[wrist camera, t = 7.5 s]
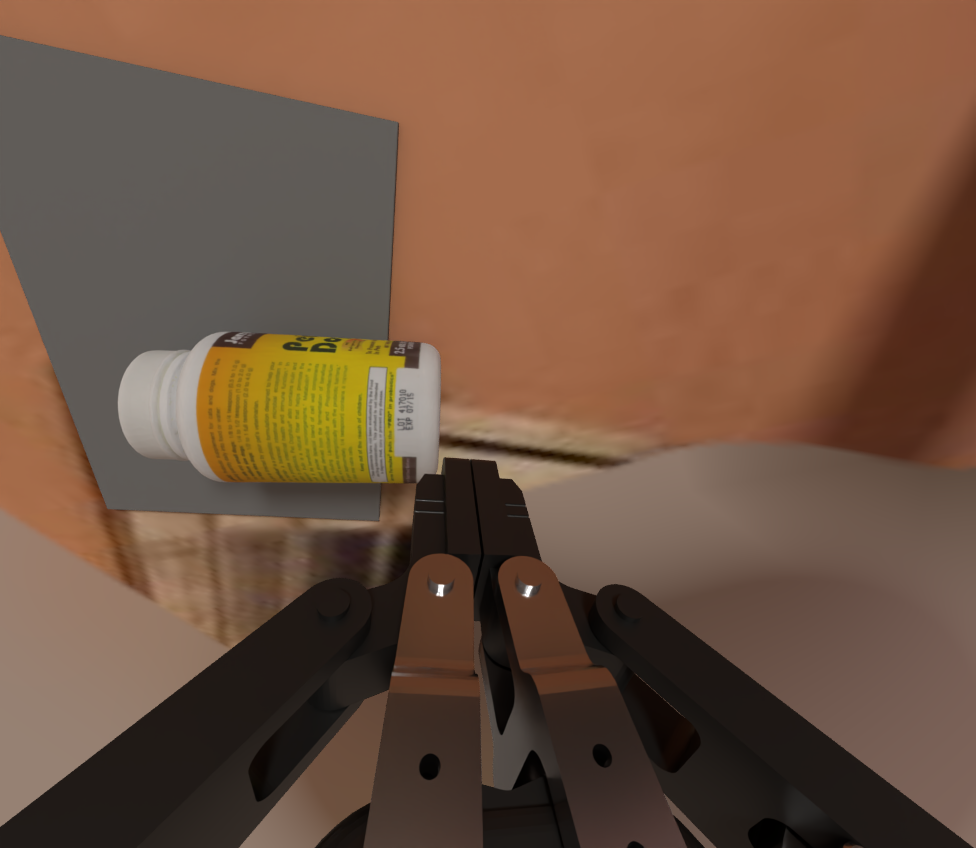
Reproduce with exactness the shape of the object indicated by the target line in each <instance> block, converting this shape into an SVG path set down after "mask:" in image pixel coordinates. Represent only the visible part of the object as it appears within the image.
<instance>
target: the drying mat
mask: <svg viewBox="0 0 976 848" xmlns="http://www.w3.org/2000/svg"><path fill="white" fill-rule="evenodd" d="M398 130H399V123H398V122H394V121H390V120H385V119H381V118H376V117H372V116H367V115H362V114H358V113H353V112H349V111H344V110H340V109H335V108H330V107H326V106H321V105H317V104H312V103H308V102H303V101H298V100H294V99H289V98H285V97H280V96H276V95H271V94H266V93H262V92H257V91H253V90H248V89H244V88H239V87H234V86H230V85H225V84H221V83H216V82H212V81H207V80H203V79H198V78H193V77H189V76H184V75H180V74H175V73H171V72H166V71H161V70H157V69H152V68H148V67H143V66H139V65H134V64H129V63H125V62H120V61H116V60H111V59H107V58H102V57H97V56H93V55H88V54H84V53H79V52H75V51H70V50H65V49H61V48H56V47H52V46H47V45H43V44H38V43H33V42H29V41H24V40H20V39H15V38H11V37H6V36H1V35H0V231H1V234H2V236H3V239H4V241H5V244H6V247H7V249H8V252H9V254H10V257H11V260H12V262H13V265H14V267H15V270H16V272H17V275H18V278H19V280H20V283H21V285H22V288H23V291H24V293H25V296H26V298H27V301H28V304H29V306H30V309H31V311H32V314H33V317H34V319H35V322H36V324H37V327H38V330H39V332H40V335H41V337H42V340H43V343H44V345H45V348H46V350H47V353H48V355H49V358H50V361H51V363H52V366H53V368H54V371H55V374H56V376H57V379H58V381H59V384H60V387H61V389H62V392H63V394H64V397H65V400H66V402H67V405H68V407H69V410H70V413H71V415H72V418H73V420H74V423H75V426H76V428H77V431H78V433H79V436H80V438H81V441H82V444H83V446H84V449H85V451H86V454H87V457H88V459H89V462H90V464H91V467H92V470H93V472H94V475H95V477H96V480H97V483H98V485H99V488H100V490H101V493H102V496H103V498H104V501H105V503H106V506H107V509H121V510H144V511H166V512H189V513H212V514H234V515H257V516H280V517H303V518H325V519H348V520H371V521H379V516H380V497H381V483H289V482H218V481H214V480H211V479H209V478H207V477H205V476H204V475H202V474H201V473H200V472H199V471H198V470H197V469H196V468H195V467H194V466H193V465H192V463H191V462H190V460H188V461H179V460H176V459H151V458H148V457H145V456H143V455H141V454H140V453H138V452H137V451H136V450H135V449H134V448H133V447H132V446H131V445H130V444H129V442H128V441H127V439H126V437H125V435H124V433H123V431H122V427H121V424H120V420H119V414H118V394H119V388H120V384H121V381H122V378H123V375H124V373H125V371H126V369H127V368H128V366H129V365H130V363H131V362H132V361H133V360H134V359H135V358H136V357H138V356H139V355H140V354H142V353H144V352H147V351H154V350H165V351H178V350H190V351H191V350H192V349H193V348H194V347H195V345H196V344H197V343H198V342H199V341H201V340H202V339H204V338H205V337H207V336H209V335H211V334H214V333H218V332H248V333H265V334H283V335H302V336H318V337H336V338H353V339H369V340H386V341H388V334H389V314H390V293H391V273H392V252H393V232H394V212H395V191H396V171H397V150H398Z"/></svg>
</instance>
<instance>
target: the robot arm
mask: <svg viewBox="0 0 976 848" xmlns="http://www.w3.org/2000/svg"><path fill="white" fill-rule="evenodd" d="M525 505H526V504H525V500H524V497H523V493H522V491H521V489H520V488H519V487H518V486H517V485H516V484H515V482H514V481H513V480H512V479H501V478H499V474H498V469H497V464H496V462H495V461H488V460H475V459H470V461H469V459H460V458H446V457H444V459H443V465H442V472H441V475H439V474H424V475H423V477H422V478H421V479H420V481H419V482H418V484H417V486H416V495H415V505H414V515H413V524H412V540H411V554H410V565H409V567H408V569H407V570H406V571H405V572H404V574H402V575H401V576H400V577H399V578H397V579H396V580H394V581H392V582H390V583H388V584H385V585H382V586H379V587H375V588H371V589H368V590H367V589H366V588H365V587H364V586H363V585H362V584H360V583H358V582H357V581H354V580H351V579H346V578H334V579H329V580H325V581H323V582H320V583H318V584H316V585H314V586H313V587H311V588H310V589H308V590H307V591H306V592H305V593H303V594H302V595H301V596H299V597H298V598H297V599H295V600H294V601H293V602H292V603H290V604H289V605H288V606H286V607H285V608H284V609H282V610H281V611H280V612H279V613H277V614H276V615H275V616H273V617H272V618H271V619H270V620H268V621H267V622H266V623H264V624H263V625H262V626H260V627H259V628H258V629H257V630H255V631H254V632H253V633H251V634H250V635H249V636H247V637H246V638H245V639H244V640H242V641H241V642H240V643H238V644H237V645H236V646H234V647H233V648H232V649H231V650H229V651H228V652H227V653H225V654H224V655H223V656H222V657H221V658H219V659H218V660H216V661H215V662H214V663H212V664H211V665H210V666H209V667H207V668H206V669H205V670H203V671H202V672H201V673H199V674H198V675H197V676H196V677H194V678H193V679H192V680H190V681H189V682H188V683H187V684H185V685H184V686H183V687H181V688H180V689H179V690H177V691H176V692H175V693H174V694H172V695H171V696H170V697H168V698H167V699H166V700H164V701H163V702H162V703H161V704H159V705H158V706H157V707H155V708H154V709H153V710H151V711H150V712H149V713H148V714H146V715H145V716H144V717H142V718H141V719H140V720H139V721H137V722H136V723H135V724H133V725H132V726H131V727H129V728H128V729H127V730H126V731H124V732H123V733H122V734H121V735H119V736H118V737H116V738H115V739H114V740H113V741H112V742H110V743H109V744H108V745H106V746H105V747H104V748H103V749H101V750H100V751H98V752H97V753H96V754H94V755H93V756H92V757H91V758H89V759H88V760H87V761H86V762H84V763H83V764H81V765H80V766H79V767H78V768H76V769H75V770H74V771H72V772H71V773H70V774H68V775H67V776H66V777H65V778H63V779H62V780H61V781H59V782H58V783H57V784H55V785H54V786H53V787H52V788H50V789H49V790H48V791H46V792H45V793H44V794H43V795H41V796H40V797H39V798H38V799H36V800H35V801H33V802H32V803H31V804H30V805H28V806H27V807H26V808H24V809H23V810H22V811H21V812H19V813H18V814H17V815H15V816H14V817H13V818H11V819H10V820H9V821H7V822H6V823H5V824H4V825H2V826H1V827H0V848H239V847H240V845H241V844H242V843H243V842H244V841H245V840H246V838H247V837H248V836H249V835H250V834H251V833H252V831H253V830H254V829H255V828H256V827H257V825H258V824H259V823H260V822H261V821H262V820H263V818H264V817H265V816H266V815H267V814H268V813H269V812H270V810H271V809H272V808H273V807H274V806H275V805H276V803H277V802H278V801H279V800H280V799H281V797H282V796H283V795H284V794H285V793H286V792H287V791H288V789H289V788H290V787H291V786H292V784H294V782H295V781H296V780H297V779H298V777H300V775H301V774H302V773H303V772H304V771H305V769H306V768H307V767H308V766H309V765H310V764H311V763H312V761H313V760H314V759H315V758H316V757H317V756H318V754H319V753H320V752H321V751H322V750H323V748H324V747H325V746H326V745H327V744H328V743H329V742H330V740H331V739H332V738H333V737H334V736H335V735H336V733H337V732H338V731H339V730H340V729H341V728H342V726H343V725H344V724H345V722H347V721H348V719H349V718H350V717H351V716H352V715H353V714H354V712H355V711H356V710H357V709H358V708H359V706H360V705H361V703H362V702H363V700H364V699H367V698H369V697H372V696H374V695H377V694H379V693H382V692H384V691H387V690H389V693H388V700H387V705H386V712H385V718H384V724H383V730H382V737H381V742H380V748H379V755H378V761H377V767H376V773H375V779H374V786H373V791H372V798H371V803H369V804H367V805H365V806H364V807H362V808H360V809H358V810H357V811H355V812H353V813H352V814H351V815H349V816H348V817H347V818H345V819H344V820H343V821H341V822H340V823H339V824H338V825H337V826H336V827H334V828H333V829H332V830H331V831H330V832H329V833H328V834H327V835H326V836H325V837H324V838H323V839H322V840H321V841H320V842H319V844H318V845H317V846H316V847H315V848H704V846H703V845H702V844H701V843H700V842H699V841H698V840H697V839H696V838H695V837H694V836H693V834H692V833H691V832H690V831H689V830H688V829H687V828H686V827H685V826H684V825H683V824H682V823H681V822H680V821H679V820H678V819H677V818H676V817H675V816H674V815H673V814H672V812H671V809H670V807H669V805H668V802H667V800H666V798H665V795H666V796H667V797H668V798H669V799H670V800H671V801H672V802H673V803H674V804H675V805H676V806H677V807H678V808H679V809H680V810H681V811H682V812H683V813H684V814H685V815H686V817H687V818H688V819H689V820H690V821H691V822H692V823H693V824H694V825H695V826H696V827H697V828H698V829H699V830H700V831H701V832H702V833H703V834H704V835H705V836H706V837H707V838H708V839H709V840H710V841H711V842H712V843H713V844H714V845H715V846H716V848H973V847H972V846H970V845H969V844H968V843H967V842H965V841H964V840H963V839H962V838H960V837H959V836H957V835H956V834H955V833H954V832H952V831H951V830H950V829H949V828H947V827H946V826H945V825H943V824H942V823H941V822H939V821H938V820H937V819H935V818H934V817H933V816H931V815H930V814H929V813H928V812H926V811H925V810H924V809H922V808H921V807H920V806H918V805H917V804H916V803H914V802H913V801H912V800H911V799H909V798H908V797H907V796H905V795H904V794H903V793H901V792H900V791H899V790H897V789H896V788H895V787H893V786H892V785H891V784H890V783H888V782H887V781H886V780H884V779H883V778H882V777H880V776H879V775H878V774H876V773H875V772H874V771H873V770H871V769H870V768H868V767H867V766H866V765H864V764H863V763H862V762H861V761H859V760H858V759H857V758H855V757H854V756H853V755H852V754H850V753H849V752H847V751H846V750H845V749H844V748H842V747H841V746H840V745H838V744H837V743H836V742H835V741H833V740H832V739H831V738H829V737H828V736H826V735H825V734H824V733H823V732H821V731H820V730H819V729H817V728H816V727H815V726H814V725H812V724H811V723H809V722H808V721H807V720H806V719H804V718H803V717H802V716H800V715H799V714H798V713H797V712H795V711H794V710H793V709H791V708H790V707H789V706H787V705H786V704H785V703H783V702H782V701H781V700H779V699H778V698H777V697H776V696H774V695H773V694H772V693H770V692H769V691H768V690H766V689H765V688H764V687H762V686H761V685H759V683H757V682H756V681H755V680H753V679H752V678H751V677H749V676H748V675H747V674H745V673H744V672H743V671H741V670H740V669H739V668H738V667H736V666H735V665H733V664H732V663H731V662H730V661H728V660H727V659H726V658H724V657H723V656H722V655H721V654H719V653H718V652H717V651H715V650H714V649H713V648H711V647H710V646H709V645H707V644H706V643H705V642H703V641H702V640H701V639H700V638H698V637H697V636H696V635H694V634H693V633H692V632H690V631H689V630H688V629H686V628H685V627H684V626H683V625H681V624H680V623H679V622H677V621H676V620H675V619H673V618H672V617H671V616H669V615H668V614H667V613H666V612H664V611H663V610H661V609H660V608H659V607H658V606H656V605H655V604H654V603H652V602H651V601H649V600H648V599H647V598H646V597H645V596H643V595H642V594H640V593H639V592H637V591H636V590H634V589H632V588H630V587H627V586H623V585H618V584H614V585H607V586H605V587H603V588H602V589H600V591H599V592H598V594H597V596H596V595H593V594H590V593H586V592H583V591H580V590H577V589H574V588H571V587H568V586H566V585H564V584H562V583H560V582H559V581H558V579H557V577H556V575H555V573H554V572H553V571H552V570H551V569H550V567H548V566H547V565H546V564H544V563H543V562H542V560H541V557H540V554H539V550H538V546H537V543H536V539H535V536H534V532H533V529H532V525H531V522H530V518H529V515H528V511H527V508H526V506H525ZM474 621H480V622H481V631H482V636H481V640H480V644H479V659H480V664H481V671H482V676H483V683H484V689H485V695H486V701H487V707H488V712H489V719H490V724H491V730H492V737H493V750H494V753H493V754H494V756H493V780H494V787H490V786H486V785H483V784H482V771H481V719H480V686H479V678H478V675H477V674H475V670H474ZM635 673H636V674H637V675H638V676H639V677H640V678H641V679H642V680H643V681H645V682H646V683H647V684H648V685H649V686H650V687H651V688H652V689H654V690H655V691H656V692H657V693H658V694H659V695H660V696H661V697H662V698H661V697H660V696H659V695H658V694H657V693H656V692H655V691H654V690H652V689H651V688H650V687H649V686H648V685H647V684H646V683H645V682H643V681H642V680H641V679H640V678H639V677H638V676H637V675H636V674H635ZM663 698H664V699H665V700H666V701H667V702H668V703H669V704H670V705H672V706H673V707H674V708H675V709H676V710H677V711H678V712H679V713H680V714H681V715H680V714H679V713H678V712H677V711H676V710H675V709H674V708H673V707H671V706H670V705H669V704H668V703H667V702H666V701H665V700H664V699H663ZM682 715H683V716H684V717H685V718H684V717H683V716H682ZM664 794H665V795H664Z"/></svg>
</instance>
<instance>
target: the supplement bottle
mask: <svg viewBox="0 0 976 848" xmlns="http://www.w3.org/2000/svg"><path fill="white" fill-rule="evenodd" d="M440 399H441V358H440V355H439V352H438V351H437V349H436V348H435V347H434V346H432V345H430V344H427V343H419V342H405V341H386V340H369V339H353V338H336V337H318V336H302V335H283V334H265V333H248V332H218V333H214V334H211V335H209V336H207V337H205V338H204V339H202V340H201V341H199V342H198V343H197V344H196V345H195V347H194V348H193V349H192V350H191V351H190V350H178V351H165V350H154V351H147V352H144V353H142V354H140V355H139V356H138V357H136V358H135V359H134V360H133V361H132V362H131V363H130V365H129V366H128V368H127V369H126V371H125V373H124V375H123V378H122V381H121V384H120V388H119V394H118V414H119V420H120V424H121V427H122V431H123V433H124V435H125V437H126V439H127V441H128V442H129V444H130V445H131V446H132V447H133V448H134V449H135V450H136V451H137V452H138V453H140V454H141V455H143V456H145V457H148V458H151V459H176V460H179V461H188V460H190V462H191V463H192V465H193V466H194V467H195V468H196V469H197V470H198V471H199V472H200V473H201V474H202V475H204V476H205V477H207V478H209V479H211V480H214V481H218V482H289V483H418V482H419V481H420V479H421V478H422V477H423V475H424V474H436V472H437V468H438V454H439V429H440Z"/></svg>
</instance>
